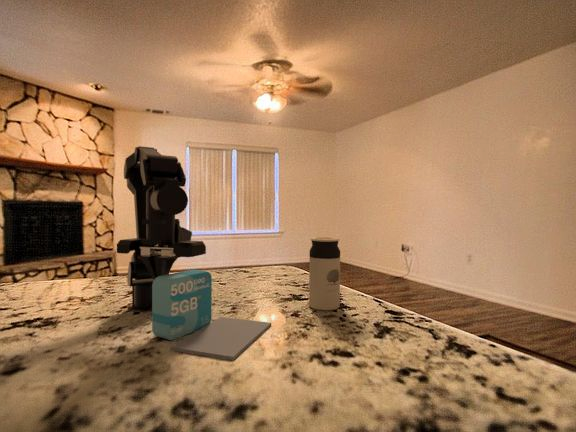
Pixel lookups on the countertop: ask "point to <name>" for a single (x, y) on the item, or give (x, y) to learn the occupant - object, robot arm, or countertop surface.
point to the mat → (222, 338)
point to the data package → (181, 303)
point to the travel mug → (324, 274)
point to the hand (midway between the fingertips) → (161, 287)
